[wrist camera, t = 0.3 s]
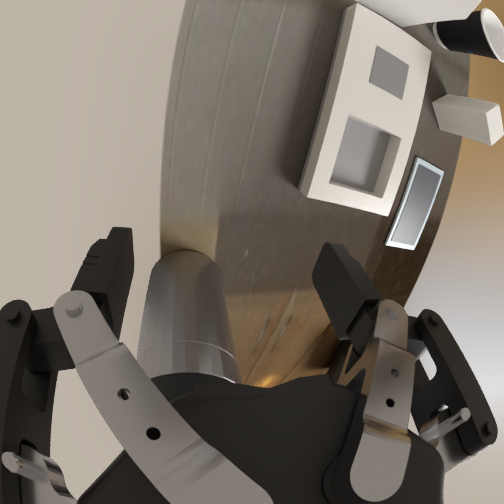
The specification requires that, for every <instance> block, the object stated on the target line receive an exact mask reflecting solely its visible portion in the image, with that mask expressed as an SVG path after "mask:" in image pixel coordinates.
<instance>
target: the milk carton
mask: <svg viewBox="0 0 504 504" xmlns="http://www.w3.org/2000/svg"><path fill="white" fill-rule="evenodd" d="M355 1H357V2H359V3H361V4H363V5H365V6H366V7H368V8H370V9H372V10H374V11H376V12H377V13H379V14H381V15H383V16H384V17H386V18H388V19H389V20H391V21H393V22H394V23H396V24H397V25H399V26H401V27H406V26H412V25H418V24H424V23H431V22H439V21H448V20H461V19H466V18H467V17H468V16H469V15H470V14H471V13H472V11H473V10H474V9H475V8H476V7H477V5H478V4H479V3H480V2H481V1H482V0H355Z"/></svg>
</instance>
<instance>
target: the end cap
mask: <svg viewBox="0 0 504 504" xmlns="http://www.w3.org/2000/svg"><path fill="white" fill-rule="evenodd" d="M351 344H352V342H351V340H350V339H346V340H344V341H343V342H342V344H341V346H340V348H339V350H338V352H337V354H336V356H335V358H334V360H333V362H332V364H331V366H330V368H329V370H328V372H327V373H326V374H328V375H329V378H330V381H331V383H336V384H337V382H338V380H339V378H340V375H341V372H342V369H343V366H344V363H345V359H346V356H347V353H348V350H349V347H350V346H351Z"/></svg>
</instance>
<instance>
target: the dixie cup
mask: <svg viewBox="0 0 504 504" xmlns="http://www.w3.org/2000/svg"><path fill="white" fill-rule="evenodd" d="M433 33H434V36H435V38H436V40H437V42H438V43H439V44H440V45H441V46H442V47H443V48H445V49H449V50H451V51H457V52H464V53H470V54H475V55H481V56H485V57H490V58H494V59H498V60H500V61H501V62H504V28H503V26H502V24H501V22H500V20H499V19H498V17H497V16H496V15H495V14H494V13H493V12H492V11H491V10H490V9H488V8H483V9H482V10H481V11H475V12H472V13H471V14H470V15H469V16H468V17H467V18H466V19H461V20H448V21H439V22H435V23H434V24H433Z"/></svg>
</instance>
